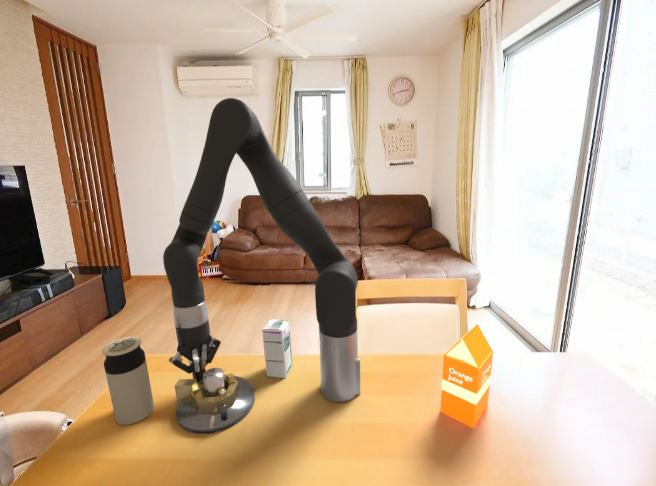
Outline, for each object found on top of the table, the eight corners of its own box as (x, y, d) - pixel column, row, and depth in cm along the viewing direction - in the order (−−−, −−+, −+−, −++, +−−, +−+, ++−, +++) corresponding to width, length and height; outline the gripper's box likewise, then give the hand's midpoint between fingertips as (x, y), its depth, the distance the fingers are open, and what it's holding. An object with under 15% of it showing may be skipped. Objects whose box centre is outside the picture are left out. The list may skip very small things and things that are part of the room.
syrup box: (286, 378, 90) (283, 329, 86) (265, 376, 91) (261, 328, 87) (292, 366, 95) (290, 319, 91) (273, 364, 96) (269, 318, 93)
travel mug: (161, 406, 81) (150, 339, 76) (130, 430, 74) (116, 358, 69) (139, 397, 84) (127, 333, 80) (108, 419, 77) (92, 350, 73)
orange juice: (488, 406, 78) (496, 328, 73) (474, 429, 71) (482, 345, 67) (455, 391, 83) (460, 318, 78) (439, 411, 77) (444, 332, 72)
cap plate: (253, 375, 91) (251, 347, 89) (255, 424, 74) (252, 391, 72) (183, 387, 87) (179, 358, 85) (168, 442, 70) (162, 407, 68)
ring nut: (242, 384, 85) (240, 369, 84) (230, 413, 75) (228, 396, 74) (188, 384, 86) (186, 369, 84) (169, 413, 76) (166, 396, 75)
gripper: (208, 305, 88) (215, 364, 92) (156, 325, 78) (167, 389, 82) (224, 313, 83) (231, 374, 87) (171, 335, 73) (182, 402, 77)
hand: (200, 381), depth 84 cm, fingers closed
